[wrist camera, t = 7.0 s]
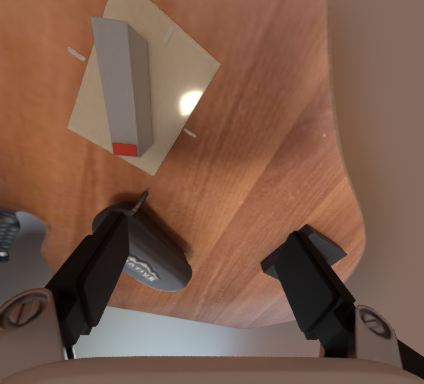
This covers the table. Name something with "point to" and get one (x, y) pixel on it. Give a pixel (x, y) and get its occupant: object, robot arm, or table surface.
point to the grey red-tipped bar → (124, 85)
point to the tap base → (159, 82)
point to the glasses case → (150, 250)
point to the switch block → (321, 242)
